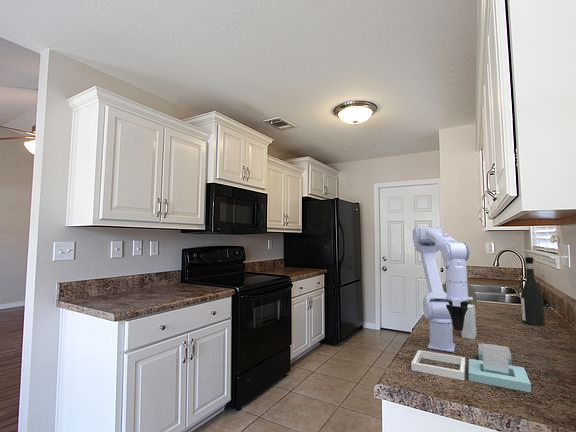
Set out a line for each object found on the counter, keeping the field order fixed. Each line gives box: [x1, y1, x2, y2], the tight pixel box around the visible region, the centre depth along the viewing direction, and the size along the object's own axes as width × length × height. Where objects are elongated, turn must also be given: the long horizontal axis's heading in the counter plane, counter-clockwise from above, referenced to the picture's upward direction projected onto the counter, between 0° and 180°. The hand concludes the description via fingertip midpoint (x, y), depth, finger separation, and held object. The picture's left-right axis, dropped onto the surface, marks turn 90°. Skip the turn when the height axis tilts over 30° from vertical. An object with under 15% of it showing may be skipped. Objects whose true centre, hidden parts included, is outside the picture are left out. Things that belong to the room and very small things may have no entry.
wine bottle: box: [520, 256, 546, 326], centre depth 144 cm, size 8×8×30 cm
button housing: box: [477, 342, 513, 366], centre depth 95 cm, size 8×8×4 cm
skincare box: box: [460, 304, 477, 340], centre depth 122 cm, size 6×4×12 cm
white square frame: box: [410, 349, 466, 381], centre depth 91 cm, size 13×13×2 cm
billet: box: [481, 343, 509, 376], centre depth 84 cm, size 4×6×8 cm
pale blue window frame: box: [468, 358, 532, 393], centre depth 84 cm, size 12×13×2 cm
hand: (458, 327), depth 95 cm, fingers open, 7 cm apart
